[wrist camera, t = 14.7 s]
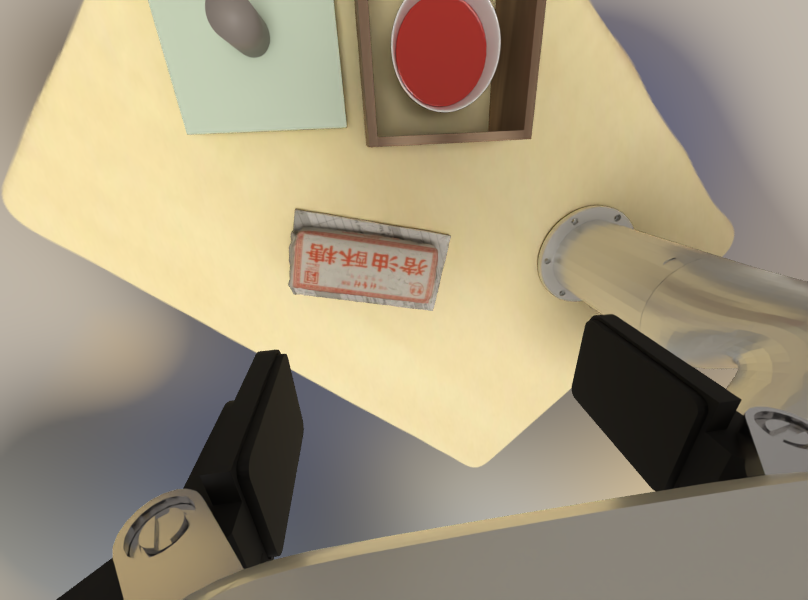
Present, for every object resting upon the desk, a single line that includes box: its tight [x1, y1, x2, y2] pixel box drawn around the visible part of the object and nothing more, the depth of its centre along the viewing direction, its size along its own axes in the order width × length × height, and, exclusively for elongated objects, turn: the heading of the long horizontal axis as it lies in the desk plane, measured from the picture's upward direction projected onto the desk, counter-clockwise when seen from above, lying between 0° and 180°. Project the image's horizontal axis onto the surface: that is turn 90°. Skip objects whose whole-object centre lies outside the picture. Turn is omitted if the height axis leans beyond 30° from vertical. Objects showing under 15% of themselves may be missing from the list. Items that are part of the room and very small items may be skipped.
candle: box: [391, 0, 501, 112], centre depth 30 cm, size 9×9×6 cm
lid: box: [148, 0, 347, 135], centre depth 27 cm, size 14×14×7 cm
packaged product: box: [288, 209, 451, 311], centre depth 39 cm, size 18×5×10 cm
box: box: [354, 0, 546, 147], centre depth 29 cm, size 14×14×8 cm
